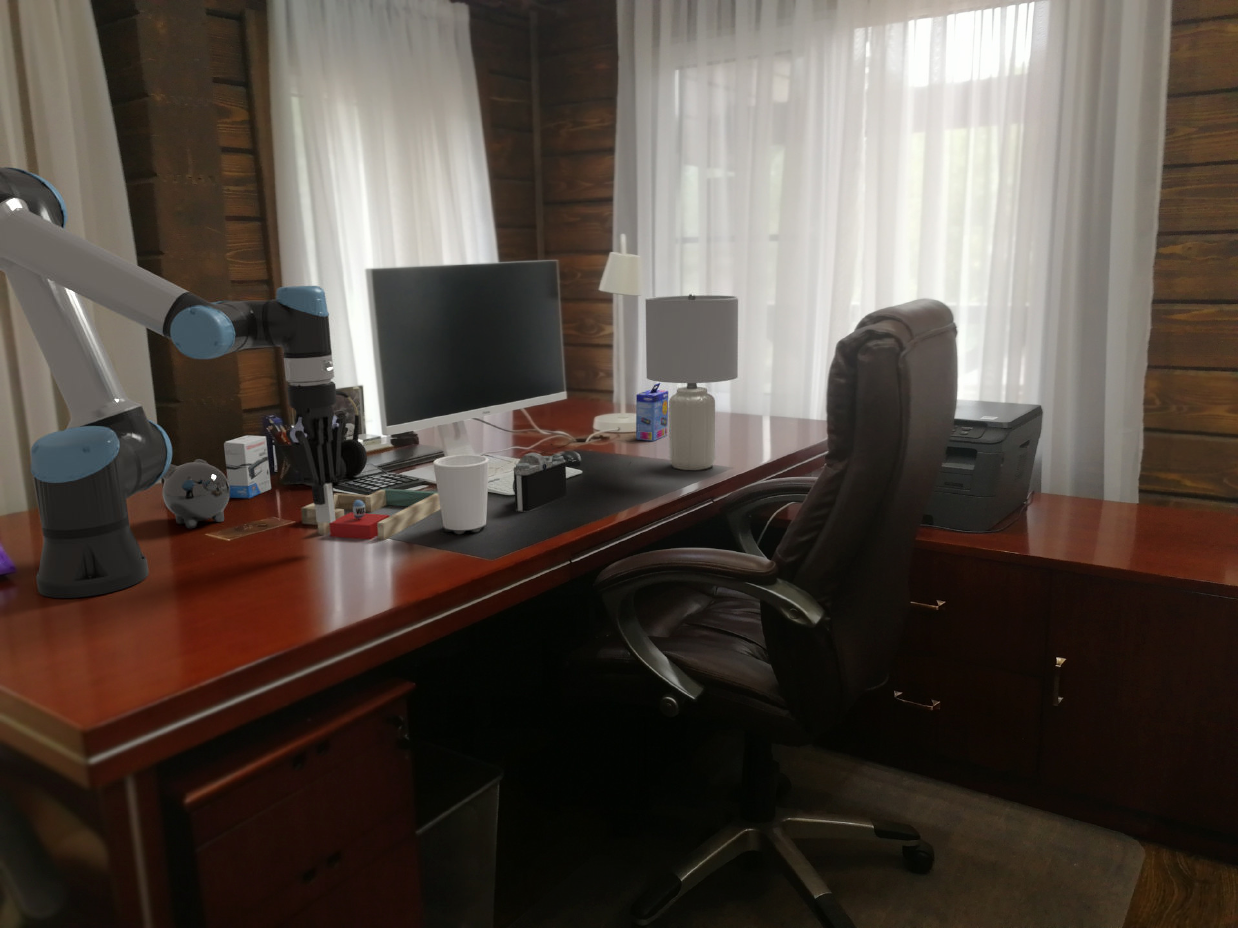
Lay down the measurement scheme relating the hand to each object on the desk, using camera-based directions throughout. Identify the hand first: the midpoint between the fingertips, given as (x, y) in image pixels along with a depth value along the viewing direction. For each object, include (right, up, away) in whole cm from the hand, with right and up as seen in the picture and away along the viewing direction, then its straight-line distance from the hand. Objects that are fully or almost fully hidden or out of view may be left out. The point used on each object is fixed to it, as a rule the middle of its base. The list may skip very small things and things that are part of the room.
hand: (326, 521), depth 159 cm
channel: (+2, -1, +19) cm, 20 cm away
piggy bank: (-30, -2, +20) cm, 36 cm away
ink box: (-29, +3, +41) cm, 50 cm away
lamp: (+66, +9, +57) cm, 88 cm away
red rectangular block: (+3, -3, +11) cm, 12 cm away
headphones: (-13, +6, +51) cm, 53 cm away
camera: (+33, +2, +29) cm, 44 cm away
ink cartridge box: (+58, +16, +91) cm, 109 cm away
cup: (+21, -2, +12) cm, 25 cm away
